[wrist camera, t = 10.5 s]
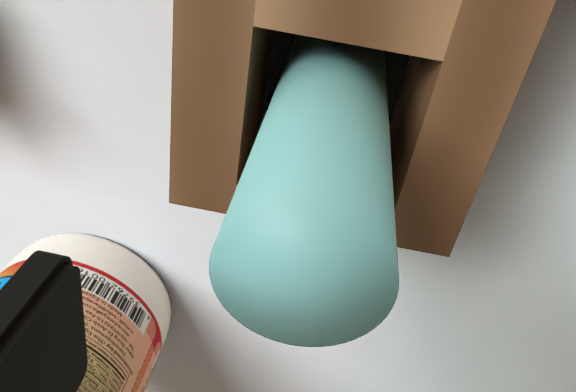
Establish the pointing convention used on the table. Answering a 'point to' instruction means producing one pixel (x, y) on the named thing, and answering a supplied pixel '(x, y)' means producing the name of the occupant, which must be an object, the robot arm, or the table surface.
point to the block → (409, 109)
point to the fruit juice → (112, 309)
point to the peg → (314, 205)
